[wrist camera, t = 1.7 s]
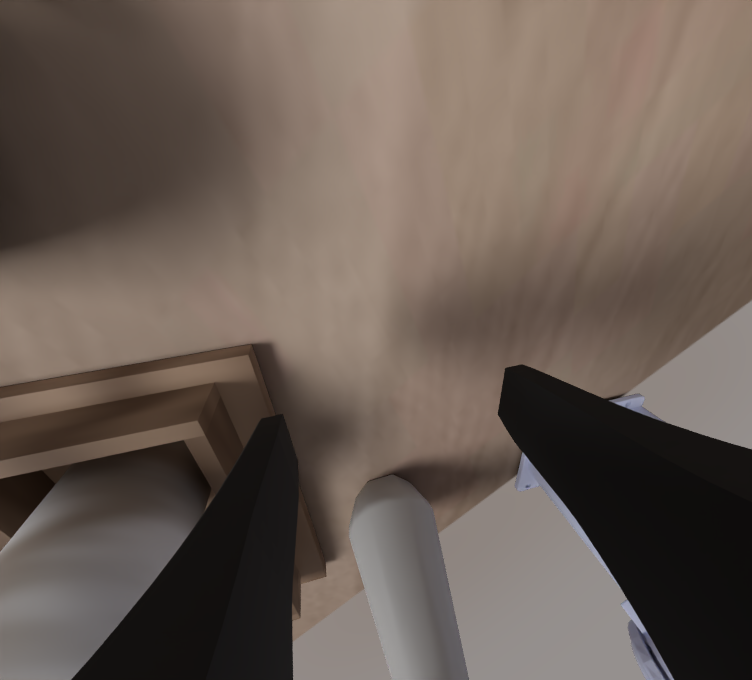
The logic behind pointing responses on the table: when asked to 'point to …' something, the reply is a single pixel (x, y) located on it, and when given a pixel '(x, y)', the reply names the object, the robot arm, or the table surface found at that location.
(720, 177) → the table surface
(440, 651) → the salt shaker
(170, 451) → the wooden condiment caddy
